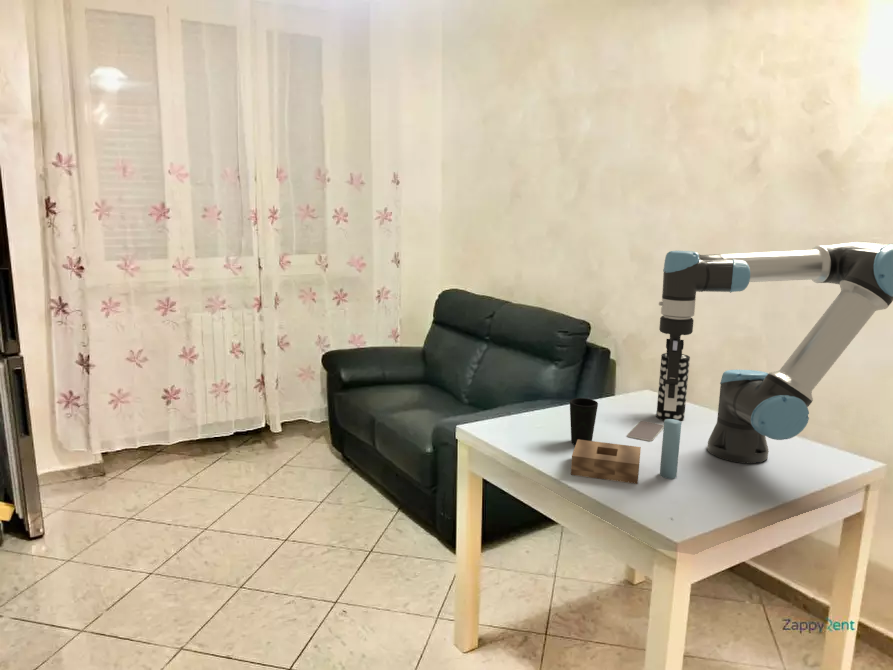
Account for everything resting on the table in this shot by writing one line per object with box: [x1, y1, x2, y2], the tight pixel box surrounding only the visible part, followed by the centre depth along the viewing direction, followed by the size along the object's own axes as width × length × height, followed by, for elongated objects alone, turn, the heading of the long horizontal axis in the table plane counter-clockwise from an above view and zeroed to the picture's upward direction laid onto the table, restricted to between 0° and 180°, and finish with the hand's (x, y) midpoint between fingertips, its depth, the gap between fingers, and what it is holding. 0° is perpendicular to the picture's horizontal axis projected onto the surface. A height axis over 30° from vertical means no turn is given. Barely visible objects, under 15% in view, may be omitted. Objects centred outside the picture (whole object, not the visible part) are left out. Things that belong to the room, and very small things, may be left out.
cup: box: [569, 397, 599, 446], centre depth 184 cm, size 8×8×12 cm
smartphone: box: [626, 420, 664, 442], centre depth 196 cm, size 7×1×15 cm
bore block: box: [570, 439, 642, 485], centre depth 167 cm, size 16×12×5 cm
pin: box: [659, 419, 682, 480], centre depth 163 cm, size 4×4×14 cm
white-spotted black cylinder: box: [655, 352, 691, 422], centre depth 206 cm, size 8×8×20 cm
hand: (670, 402), depth 162 cm, fingers open, 13 cm apart
